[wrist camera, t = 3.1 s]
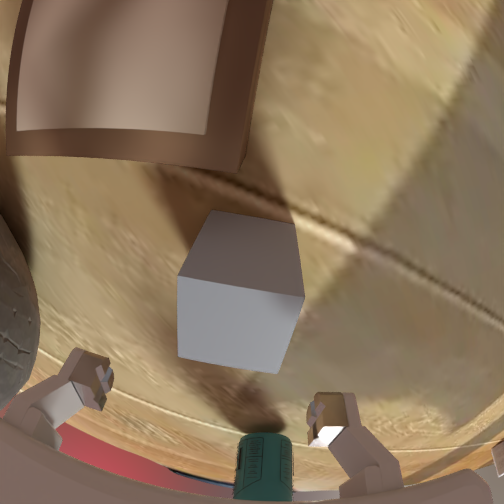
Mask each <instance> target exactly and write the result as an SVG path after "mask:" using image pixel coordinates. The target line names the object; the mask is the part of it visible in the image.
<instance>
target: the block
mask: <svg viewBox="0 0 504 504" xmlns="http://www.w3.org/2000/svg"><path fill="white" fill-rule="evenodd" d="M304 299H305V293H304V285H303V278H302V270H301V263H300V256H299V249H298V242H297V235H296V229H295V224H291V223H286V222H280V221H275V220H269V219H264V218H258V217H252V216H246V215H241V214H235V213H229V212H223V211H217V210H211V211H210V213H209V215H208V217H207V219H206V221H205V223H204V225H203V226H202V228H201V230H200V232H199V234H198V236H197V238H196V240H195V242H194V244H193V246H192V248H191V250H190V252H189V254H188V256H187V258H186V260H185V262H184V264H183V266H182V268H181V270H180V272H179V274H178V280H177V338H178V357H181V358H186V359H190V360H195V361H200V362H205V363H210V364H216V365H221V366H227V367H233V368H239V369H246V370H252V371H259V372H267V373H274V374H278V371H279V369H280V366H281V363H282V361H283V358H284V355H285V353H286V350H287V347H288V345H289V342H290V339H291V336H292V334H293V331H294V328H295V325H296V322H297V320H298V317H299V314H300V311H301V308H302V305H303V302H304Z"/></svg>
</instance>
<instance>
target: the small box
mask: <svg viewBox="0 0 504 504" xmlns="http://www.w3.org/2000/svg"><path fill="white" fill-rule="evenodd" d="M492 456H493V459H494V463H495V467H496V470H497V474H498V477H500V476H502V475H504V441H503V442H501V443H500V444H498V445H496V446H495V447H493V448H492Z"/></svg>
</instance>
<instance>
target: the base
mask: <svg viewBox="0 0 504 504" xmlns="http://www.w3.org/2000/svg"><path fill="white" fill-rule="evenodd" d="M272 4H273V0H23V1H22V5H21V8H20V12H19V16H18V20H17V25H16V29H15V34H14V39H13V45H12V51H11V58H10V65H9V73H8V84H7V98H6V154H7V156H69V157H89V158H105V159H119V160H131V161H142V162H152V163H161V164H170V165H178V166H186V167H194V168H202V169H209V170H216V171H222V172H229V173H235V174H237V172H238V170H239V168H240V166H241V164H242V162H243V160H244V158H245V155H246V149H247V143H248V137H249V131H250V125H251V119H252V113H253V107H254V101H255V95H256V90H257V84H258V78H259V73H260V67H261V62H262V56H263V51H264V45H265V40H266V35H267V30H268V24H269V19H270V14H271V9H272Z"/></svg>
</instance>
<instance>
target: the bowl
mask: <svg viewBox="0 0 504 504" xmlns="http://www.w3.org/2000/svg"><path fill="white" fill-rule="evenodd" d="M39 336H40V314H39V307H38V298H37V293H36V289H35V285H34V281H33V279H32V276H31V273H30V271H29V268H28V265H27V263H26V260H25V258H24V255H23V253H22V251H21V250H20V248H19V246H18V244H17V242H16V240H15V238H14V237H13V235H12V233H11V231H10V229H9V228H8V226H7V224H6V222H5V220H4V219H3V217H2V215H1V214H0V410H2V409H3V408H4V407H5V406H6V405H7V403H8V402H9V401H10V400H11V399H12V398H13V397H14V396H15V395H16V394H17V393H18V391H19V390H20V389H21V388H22V387H23V386H24V385H25V383H26V382H27V381H28V380H29V378H30V375H31V372H32V369H33V366H34V363H35V360H36V356H37V350H38V345H39Z"/></svg>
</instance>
